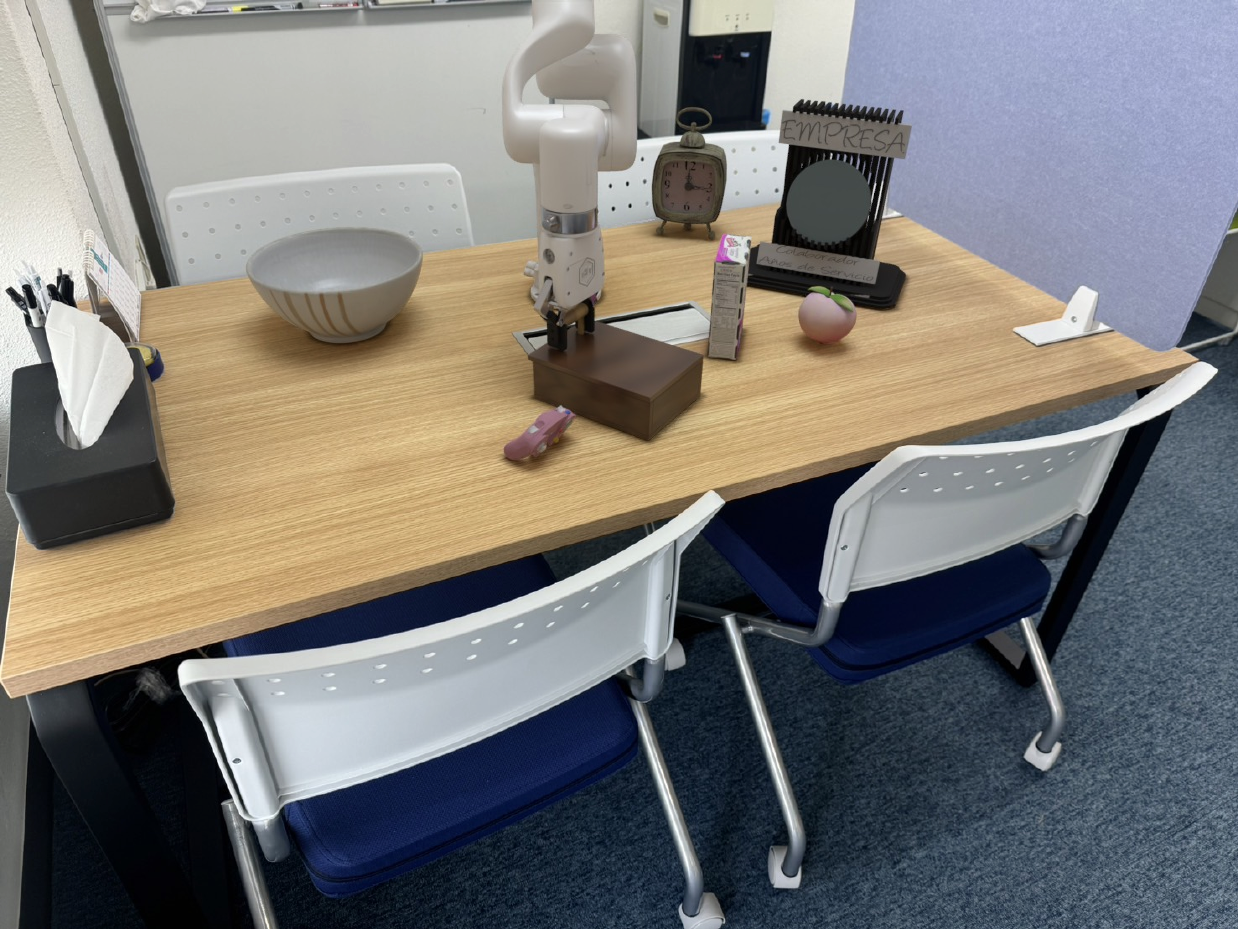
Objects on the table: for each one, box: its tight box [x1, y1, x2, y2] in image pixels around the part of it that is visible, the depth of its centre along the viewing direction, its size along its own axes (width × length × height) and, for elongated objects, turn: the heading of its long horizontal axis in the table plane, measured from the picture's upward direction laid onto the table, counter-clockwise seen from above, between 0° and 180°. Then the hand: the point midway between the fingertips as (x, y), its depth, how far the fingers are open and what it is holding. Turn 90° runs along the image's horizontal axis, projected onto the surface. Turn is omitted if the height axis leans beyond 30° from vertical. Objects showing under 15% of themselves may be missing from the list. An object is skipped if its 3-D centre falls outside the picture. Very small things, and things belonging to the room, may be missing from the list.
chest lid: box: [527, 303, 705, 403], centre depth 122 cm, size 20×15×6 cm
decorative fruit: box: [797, 286, 858, 345], centre depth 138 cm, size 9×8×10 cm
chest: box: [532, 359, 704, 442], centre depth 125 cm, size 20×15×6 cm
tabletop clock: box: [651, 106, 728, 240], centre depth 174 cm, size 14×9×25 cm, turn 80°
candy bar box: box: [707, 233, 753, 361], centre depth 136 cm, size 11×5×16 cm, turn 168°
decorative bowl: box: [245, 226, 424, 344], centre depth 140 cm, size 27×27×12 cm
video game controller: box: [503, 406, 577, 461], centre depth 114 cm, size 10×5×7 cm, turn 147°
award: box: [747, 98, 913, 310], centre depth 154 cm, size 30×19×30 cm, turn 67°
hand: (571, 337), depth 126 cm, fingers closed on chest lid, 6 cm apart
